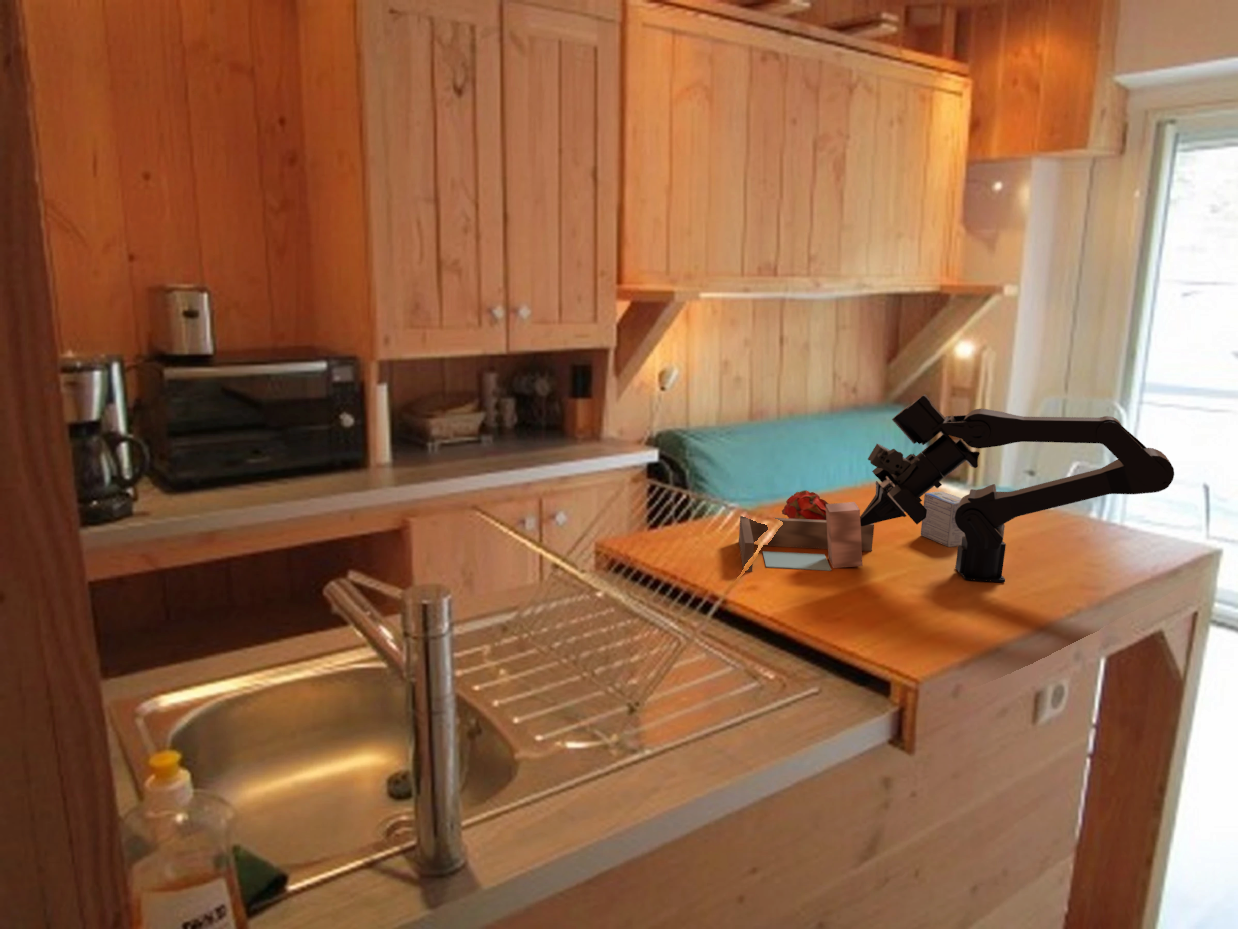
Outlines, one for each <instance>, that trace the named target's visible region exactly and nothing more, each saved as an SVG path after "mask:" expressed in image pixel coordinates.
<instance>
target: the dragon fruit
mask: <svg viewBox="0 0 1238 929" xmlns="http://www.w3.org/2000/svg"><path fill="white" fill-rule="evenodd" d="M820 497H821V496H820V495H819V494H817V493H816V492H814V491H812V492H810V491H809V490H806V489H804V490H801V491H797V492H795V493H794V494H793V495H791V496H790V497H788V499H787V500H786V501H785V502H786V504H785V505H784V507H783V509H782V510H781V512H782V513H781V514H782V515H785V516H787V518H790V519H811V520H826V504H829V503H828V502H827V501H826V500H825V499H823V498H820Z"/></svg>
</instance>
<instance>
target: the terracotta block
mask: <svg viewBox="0 0 1238 929" xmlns="http://www.w3.org/2000/svg"><path fill="white" fill-rule="evenodd" d="M860 516H861V510H860V508H859V506H858V504H856V502H855V501H849V502H837V503H835V502H834V503H828V504H826V522H827V539H828V549H827V552H828V560H829V562H830V563H829V564H830V565H831V567H832V568H833V569H840V568H851V567H863V563H864V562H863V551H862V543H861V523H860Z"/></svg>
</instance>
